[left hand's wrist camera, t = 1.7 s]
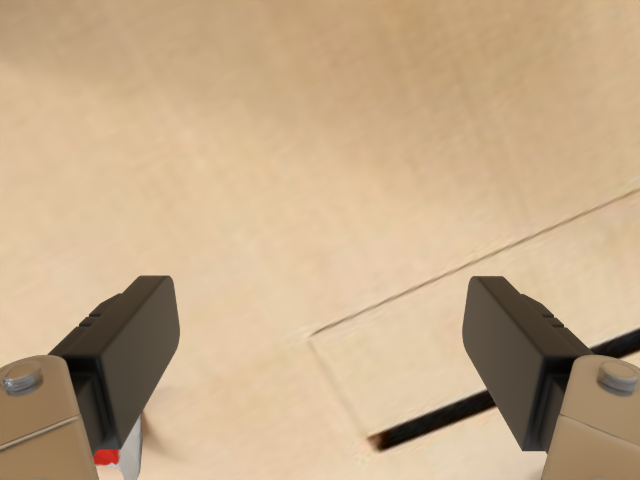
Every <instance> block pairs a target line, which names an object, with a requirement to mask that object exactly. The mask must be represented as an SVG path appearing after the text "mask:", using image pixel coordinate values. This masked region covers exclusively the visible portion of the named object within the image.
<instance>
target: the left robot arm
mask: <svg viewBox="0 0 640 480" xmlns="http://www.w3.org/2000/svg"><path fill="white" fill-rule="evenodd" d="M462 336H463V343H464V347H465V350H466V352H467V354H468V355H469V357H470V359H471V361H472V363H473V364H474V366H475V368H476V370H477V371H478V373H479V375H480V377H481V379H482V380H483V382H484V384H485V386H486V387H487V389H488V391H489V393H490V394H491V396H492V398H493V400H494V402H495V403H496V405H497V407H498V409H499V410H500V412H501V414H502V416H503V418H504V419H505V421H506V423H507V425H508V426H509V428H510V430H511V432H512V434H513V435H514V437H515V439H516V441H517V442H518V444H519V446H520V448H521V449H522V451H546V453H547V459H546V463H545V466H544V470H543V474H542V477H541V480H640V368H638V367H637V366H635V365H632V364H630V363H628V362H625V361H622V360H619V359H616V358H612V357H607V356H601V355H595V354H594V353H593V352H592V351H591V350H590V349H589V348H588V347H587V346H585V345H584V344H583V343H582V342H581V341H580V340H579V339H578V338H577V337H576V336H575V335H574V334H573V333H572V332H571V331H570V330H569V329H568V328H564V325H563V324H562V323H561V322H560V321H559V320H558V319H557V318H554V315H553V314H552V313H551V312H550V311H549V310H548V309H547V308H546V307H545V306H544V305H543V304H541V303H539V302H537V301H536V300H534V299H532V298H530V297H528V296H526V295H524V294H520V293H519V292H518V291H517V290H516V289H515V288H514V287H513V286H512V285H511V284H510V283H509V282H508V281H507V280H506V279H505V278H504V277H502V276H473V277H472V278H471V279H470V281H469V285H468V292H467V299H466V306H465V313H464V321H463V328H462ZM179 337H180V326H179V319H178V311H177V304H176V297H175V290H174V283H173V280H172V278H171V277H170V276H139V277H138V278H137V279H136V280H135V281H134V282H133V283H132V284H131V285H130V286H129V287H128V288H127V289H126V290H125V291H124V292H123V293H122V294H117V295H115V296H113V297H111V298H110V299H108V300H106V301H104V302H102V303H101V304H99V305H98V306H97V307H96V308H95V309H94V310H93V311H92V312H91V313H90V314H89V317H86V318H85V319H84V320H83V321H82V322H81V323H80V324H79V327H76V328H75V329H74V330H72V331H71V332H70V333H69V334H68V335H67V336H66V337H65V338H64V339H63V340H62V341H61V342H60V343H59V344H58V345H57V346H56V347H55V348H54V349H53V350H52V351H51V352H50V353H49V354H48V355H39V356H33V357H28V358H24V359H21V360H18V361H15V362H12V363H10V364H8V365H5V366H3V367H2V368H0V480H99V477H98V474H97V470H96V466H95V463H94V459H93V457H94V456H95V454H96V452H97V451H98V450H121V448H122V447H123V445H124V443H125V441H126V439H127V438H128V436H129V434H130V432H131V431H132V429H133V427H134V425H135V423H136V422H137V420H138V418H139V416H140V414H141V413H142V411H143V409H144V407H145V405H146V404H147V402H148V400H149V398H150V396H151V395H152V393H153V391H154V389H155V387H156V386H157V384H158V382H159V380H160V378H161V377H162V375H163V373H164V371H165V369H166V368H167V366H168V364H169V362H170V360H171V359H172V357H173V355H174V353H175V351H176V349H177V347H178V343H179Z"/></svg>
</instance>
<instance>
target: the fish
mask: <svg viewBox="0 0 640 480" xmlns="http://www.w3.org/2000/svg"><path fill="white" fill-rule="evenodd" d="M141 454H142V413H141V414H140V416H139V418H138V420H137V422H136V423H135V425H134V427H133V429H132V431H131V432H130V434H129V436H128V438H127V439H126V441H125V443H124V445H123V447H122V448H121V450H98V451H97V452H96V454H95V456H94V457H93V459H94V463H95V466H108V467H112V468H117V469H119V470H120V472H121V473H122V475H123V478H124V480H137V478H138V476H139V473H140V466H141Z"/></svg>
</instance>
